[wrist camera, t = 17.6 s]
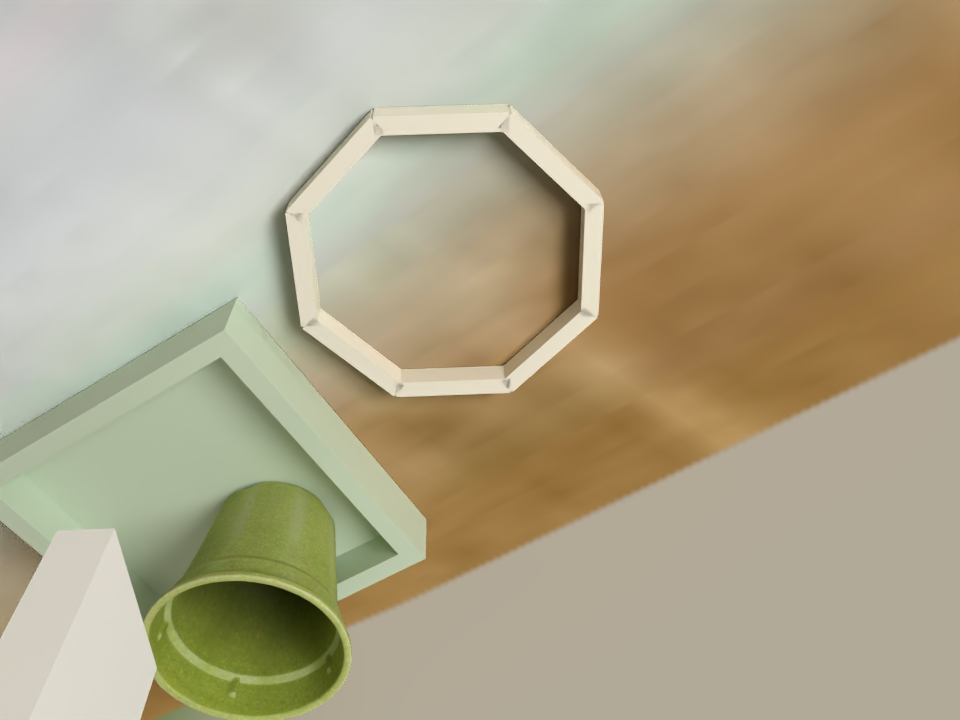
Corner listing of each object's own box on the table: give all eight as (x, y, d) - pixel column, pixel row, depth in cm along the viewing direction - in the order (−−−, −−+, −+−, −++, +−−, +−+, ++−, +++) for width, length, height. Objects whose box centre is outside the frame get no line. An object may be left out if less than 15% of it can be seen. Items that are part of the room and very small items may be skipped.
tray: (196, 633, 54) (184, 675, 51) (-14, 448, 46) (-41, 486, 44) (426, 519, 50) (425, 558, 47) (237, 297, 42) (224, 329, 40)
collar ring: (314, 386, 45) (311, 400, 44) (276, 110, 38) (271, 119, 37) (590, 376, 45) (594, 389, 44) (604, 100, 38) (608, 108, 37)
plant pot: (171, 567, 50) (124, 701, 42) (203, 433, 45) (156, 557, 38) (339, 603, 52) (323, 737, 44) (386, 478, 47) (376, 604, 40)
